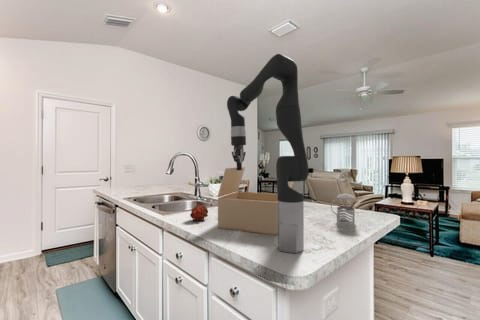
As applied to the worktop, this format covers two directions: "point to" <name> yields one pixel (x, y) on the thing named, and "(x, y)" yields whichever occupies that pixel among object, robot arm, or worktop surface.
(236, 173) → the flap left
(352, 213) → the french press
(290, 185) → the flap right
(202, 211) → the dragon fruit
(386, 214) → the worktop surface
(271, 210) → the carton
